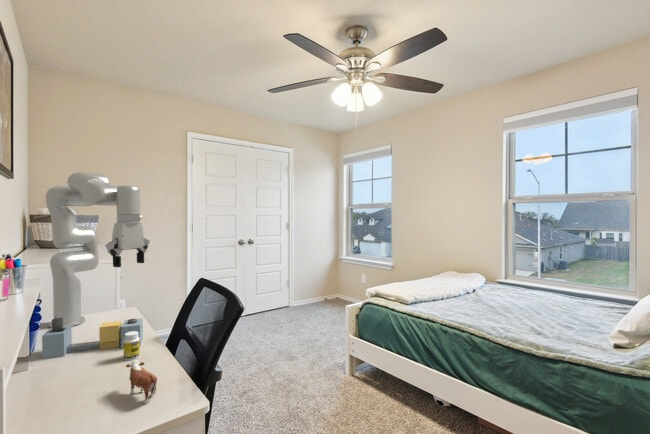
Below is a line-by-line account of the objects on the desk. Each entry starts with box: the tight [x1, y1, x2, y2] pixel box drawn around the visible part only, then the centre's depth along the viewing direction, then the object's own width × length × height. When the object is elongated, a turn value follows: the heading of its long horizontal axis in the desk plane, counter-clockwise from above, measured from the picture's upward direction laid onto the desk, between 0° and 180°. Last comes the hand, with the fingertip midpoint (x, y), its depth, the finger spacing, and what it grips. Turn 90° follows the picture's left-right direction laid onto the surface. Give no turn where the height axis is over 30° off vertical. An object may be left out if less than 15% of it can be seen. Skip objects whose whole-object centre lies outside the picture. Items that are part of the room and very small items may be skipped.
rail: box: [66, 338, 121, 354], centre depth 121 cm, size 3×17×2 cm, turn 112°
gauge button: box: [51, 318, 63, 332], centre depth 117 cm, size 3×3×4 cm
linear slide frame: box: [41, 318, 144, 360], centre depth 121 cm, size 8×29×9 cm, turn 112°
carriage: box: [98, 320, 122, 350], centre depth 123 cm, size 5×6×8 cm
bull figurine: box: [125, 359, 158, 404], centre depth 92 cm, size 4×13×8 cm, turn 51°
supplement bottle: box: [123, 331, 140, 361], centre depth 114 cm, size 5×5×8 cm
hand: (129, 264), depth 124 cm, fingers open, 9 cm apart
